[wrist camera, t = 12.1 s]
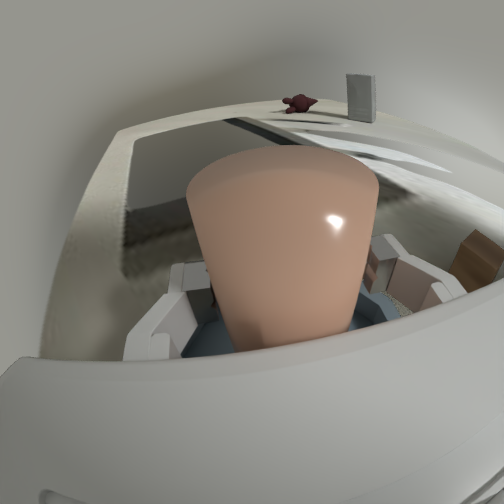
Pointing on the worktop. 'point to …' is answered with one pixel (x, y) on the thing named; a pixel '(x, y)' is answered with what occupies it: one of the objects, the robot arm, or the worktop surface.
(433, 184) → the worktop surface
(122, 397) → the robot arm
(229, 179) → the peach tapered cylinder
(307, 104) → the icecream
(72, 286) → the worktop surface
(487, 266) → the walnut block
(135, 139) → the worktop surface
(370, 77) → the skincare box
